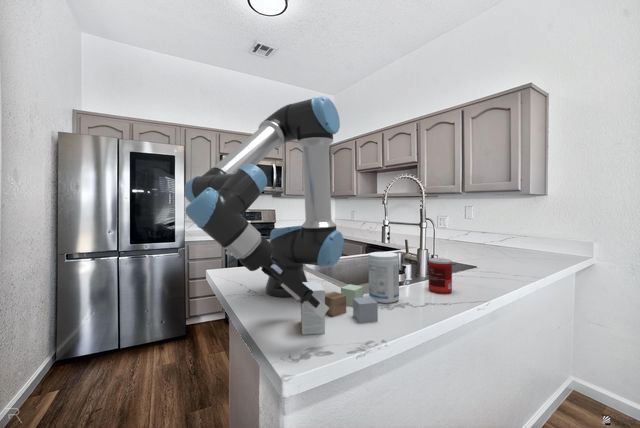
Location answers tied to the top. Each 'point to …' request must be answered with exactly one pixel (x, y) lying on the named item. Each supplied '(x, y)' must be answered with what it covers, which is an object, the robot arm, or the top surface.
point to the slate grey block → (365, 309)
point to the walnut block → (335, 304)
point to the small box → (308, 317)
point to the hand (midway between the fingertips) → (311, 303)
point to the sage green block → (352, 293)
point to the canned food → (440, 275)
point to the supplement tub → (383, 277)
